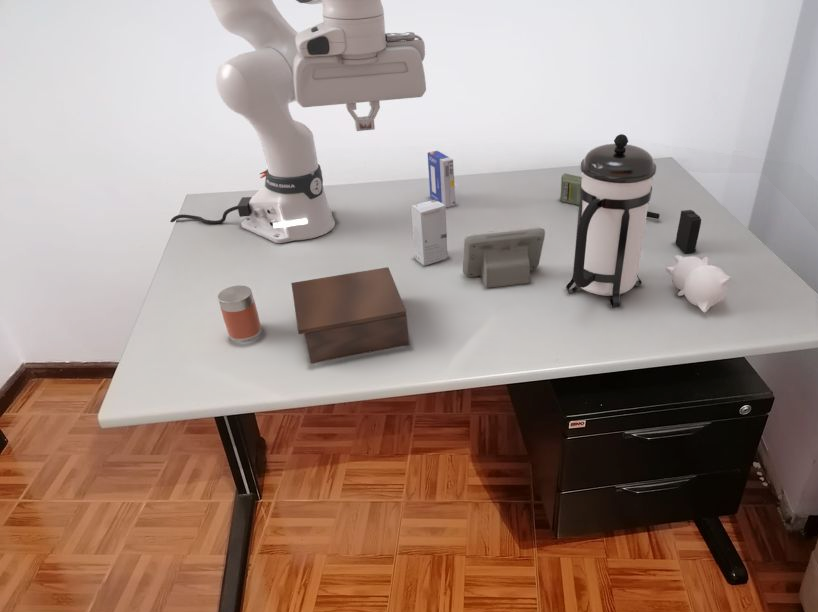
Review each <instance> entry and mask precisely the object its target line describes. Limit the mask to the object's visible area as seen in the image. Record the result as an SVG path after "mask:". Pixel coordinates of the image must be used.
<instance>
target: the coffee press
mask: <svg viewBox="0 0 818 612" xmlns="http://www.w3.org/2000/svg"><path fill="white" fill-rule="evenodd" d="M613 142H614V143H608V144H602V145H598V146H596V147H594V148H592V149H591V150H589V151H588V152H587V153H586V154H585V157H584V158H583V159H582V160H581V161H580V171H581V177H582V181H581V183H580V191H579V195H580V202H579V205H578V213H577V225H576V234H575V235H576V236H575V248H574V258H573V268H572V269H573V270H572V277H571V279H570V281H569V282H568V283H567V284H566V286H565V289H566V291H567V292H568V294H574V293H576V292H577V291H578V290H579V289H582V290H584V291H585V292H587V293H590V294H593V295H597V296H605V297H606V296H607V297H608V298H609V302H610V307H611V308H618V307H619V308H620V307H621V296H620V295H622V294H625V293H627V292H629V291H630V290H631V289H633V288H634V287H635V288H638V287H640V286H641V285H642V279H640V277H639V274H638V273H639V268H640V262H641V255H642V248H643V241H644V235H645V229H646V222H647V217H646V216H647V211H648V209H649V204H650V203H649V202H650V201H651V199H652V192H653V186H652V184H653V177H654V176H655V175H656V173H657V165H656V162H654V157H653V156H652V155H651V154H650V153H649V152H648V151H647V150H645V149H644V148H642V147H639V146H637V145H633V144H628V143H629V139H628V136H627V135H625V134H623V133H620V134H618V135H617V136H615V137H614V140H613ZM574 284H575V285H574ZM572 286H573V287H572Z"/></svg>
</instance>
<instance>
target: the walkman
mask: <svg viewBox="0 0 818 612" xmlns="http://www.w3.org/2000/svg"><path fill="white" fill-rule="evenodd" d="M427 166H428V167H427V169H428V182H429V197H430V199H432V200H437V201H439V202H440V203H442V204H444V205H445V206H446V208H450V207H455V206H456V192H455V191H456V190H455V189H456V187H455V173H454V171H455V170H454V159H453V158H452V157H450V156H448V155H446V154H445V153H443V152H441V151H439V150H434V151H433V150H432V151H429V152H427Z"/></svg>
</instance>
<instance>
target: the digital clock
mask: <svg viewBox="0 0 818 612" xmlns="http://www.w3.org/2000/svg"><path fill="white" fill-rule="evenodd" d="M545 237H546V231H545V229H544V228H543V227H539V226H530V227H521V228H512V229H503V230H494V231H483V232H476V233H470V234H467V236H466V237H464V241H463V255H462V257H463V258H462V274H463V275H464V276H465V277H467V278H476V277H480V278H481V280H482V283H483V285H484V287H485V288H486V289H490V288H497V287H499V288H500V287H505V286H506V287H508V286H515V285H522V284H529V283H530V271H533V270H536V269H537V268H538V267H539V266H540V265H539V264H540V261H541V256H542V250H543V246H544V241H545Z"/></svg>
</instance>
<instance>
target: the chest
mask: <svg viewBox="0 0 818 612" xmlns="http://www.w3.org/2000/svg"><path fill="white" fill-rule="evenodd" d="M407 315H408V314H406V315H403V316H398V317H392V318H386V319H381V320H375V321H370V322H364V323H359V324H353V325H348V326H342V327H337V328H331V329H325V330H320V331H314V332H309V333H304V337H305V342H306V347H307V351H308V356H309V361H310V364H314V363H319V362H325V361H331V360H335V359H341V358H345V357H353V356H357V355H361V354H367V353H372V352H377V351H382V350H383V351H384V350H388V349H393V348H399V347H404V346H409V345H410V337H409V327H408V316H407Z"/></svg>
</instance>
